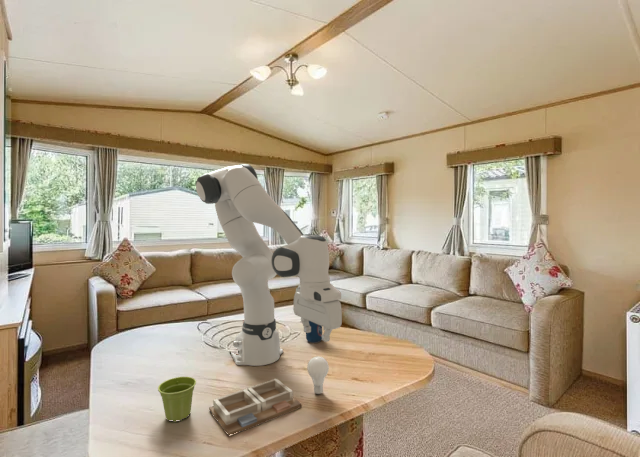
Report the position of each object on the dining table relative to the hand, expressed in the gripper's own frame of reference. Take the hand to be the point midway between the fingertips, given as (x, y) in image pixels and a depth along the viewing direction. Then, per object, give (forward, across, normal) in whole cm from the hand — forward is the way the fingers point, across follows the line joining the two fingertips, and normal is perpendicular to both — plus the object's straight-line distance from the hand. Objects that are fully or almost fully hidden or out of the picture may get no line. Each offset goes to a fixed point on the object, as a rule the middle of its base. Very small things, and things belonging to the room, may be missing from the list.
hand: (316, 336), depth 103 cm
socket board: (+17, -4, -18) cm, 25 cm away
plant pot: (+17, -14, -36) cm, 42 cm away
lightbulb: (+18, 0, 0) cm, 18 cm away
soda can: (+17, -37, +24) cm, 47 cm away
